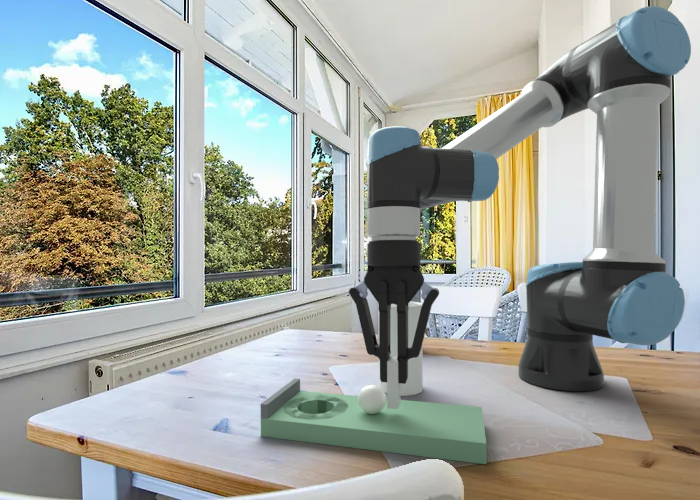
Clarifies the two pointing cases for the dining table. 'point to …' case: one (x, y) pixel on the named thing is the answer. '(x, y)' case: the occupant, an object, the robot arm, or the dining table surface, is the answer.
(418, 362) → the cup
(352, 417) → the green
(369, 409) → the ball
